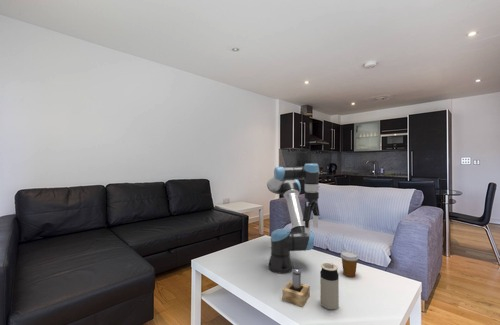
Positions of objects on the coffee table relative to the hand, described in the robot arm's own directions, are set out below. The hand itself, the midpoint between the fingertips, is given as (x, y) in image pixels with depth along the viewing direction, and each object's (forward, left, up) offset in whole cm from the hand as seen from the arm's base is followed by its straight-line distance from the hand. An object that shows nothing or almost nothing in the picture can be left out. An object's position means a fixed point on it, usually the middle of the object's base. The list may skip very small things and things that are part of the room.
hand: (311, 230), depth 127 cm
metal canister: (-2, -18, -29) cm, 34 cm away
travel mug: (+13, -15, -29) cm, 35 cm away
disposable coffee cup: (+16, +19, -29) cm, 38 cm away
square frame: (-2, -18, -29) cm, 34 cm away
